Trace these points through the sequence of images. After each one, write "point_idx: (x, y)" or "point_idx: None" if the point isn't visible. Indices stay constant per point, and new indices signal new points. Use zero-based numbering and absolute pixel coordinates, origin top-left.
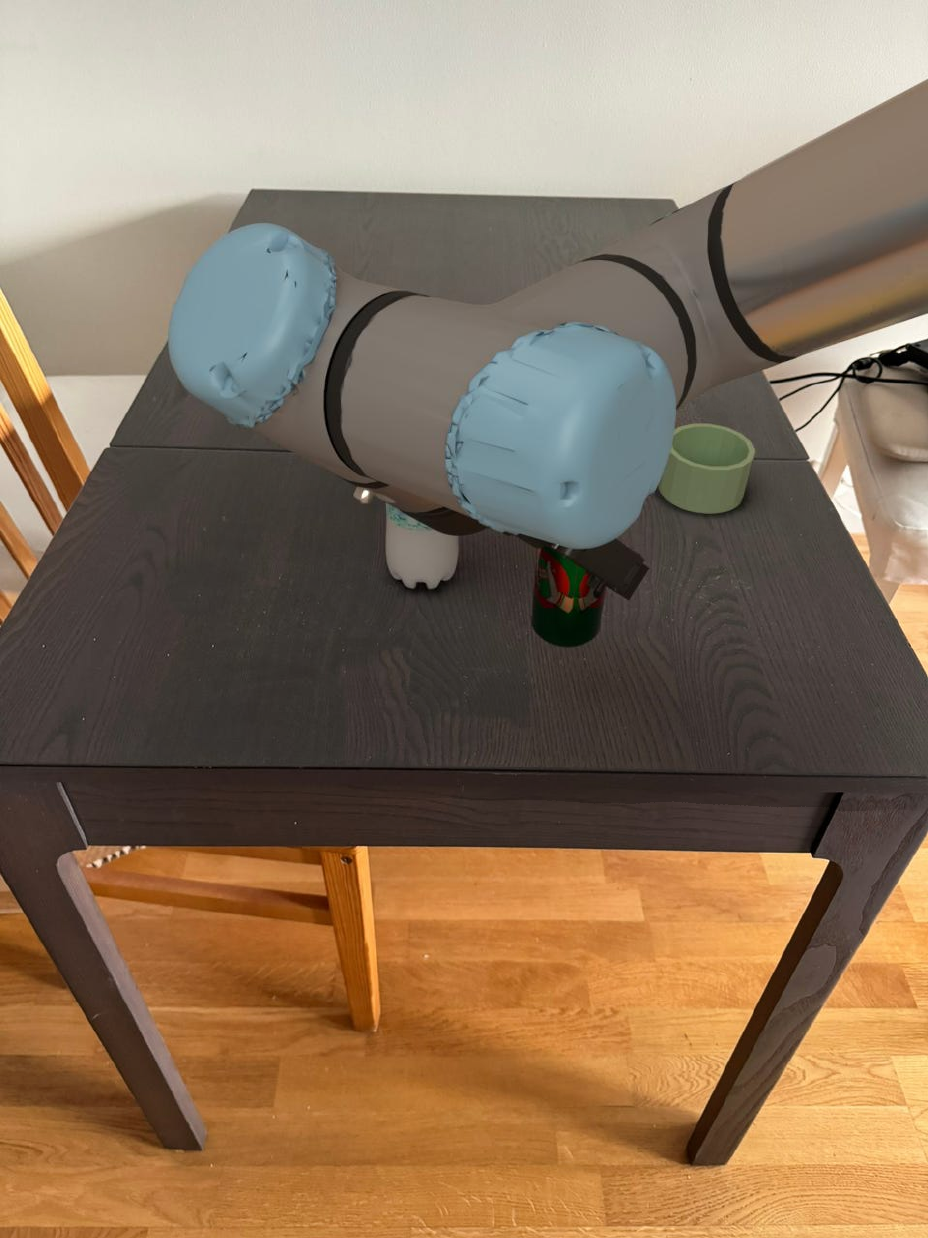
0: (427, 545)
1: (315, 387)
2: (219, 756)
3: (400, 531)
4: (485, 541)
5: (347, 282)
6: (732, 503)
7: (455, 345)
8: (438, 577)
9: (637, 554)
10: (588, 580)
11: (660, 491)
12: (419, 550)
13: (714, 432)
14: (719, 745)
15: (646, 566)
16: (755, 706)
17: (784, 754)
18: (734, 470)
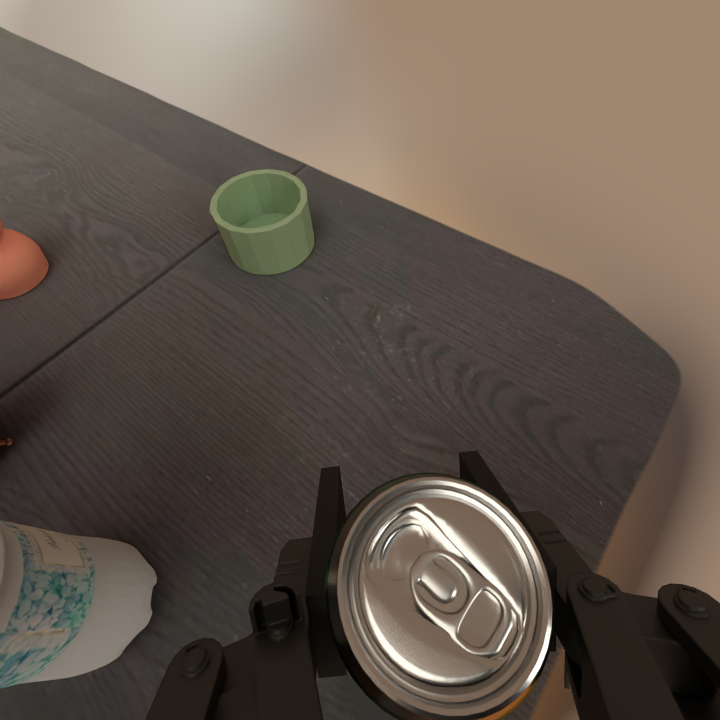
0: (94, 638)
1: None
2: None
3: (27, 681)
4: (144, 477)
5: None
6: (313, 238)
7: None
8: (146, 614)
9: (710, 612)
10: (568, 680)
11: (245, 270)
12: (89, 652)
13: (244, 183)
14: (586, 501)
15: (481, 457)
16: (552, 424)
17: (625, 453)
18: (304, 208)
